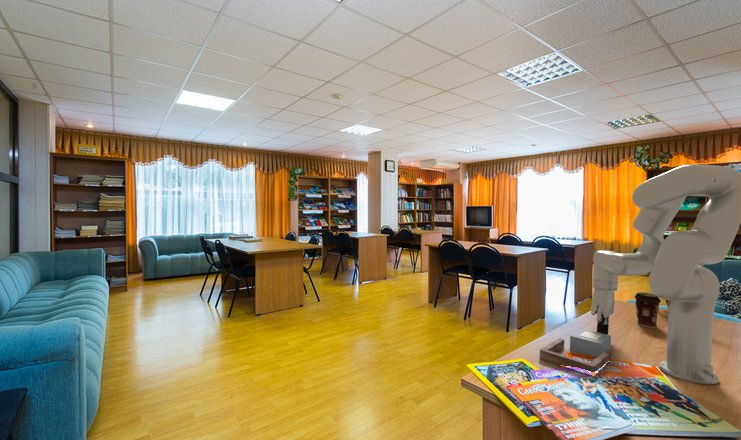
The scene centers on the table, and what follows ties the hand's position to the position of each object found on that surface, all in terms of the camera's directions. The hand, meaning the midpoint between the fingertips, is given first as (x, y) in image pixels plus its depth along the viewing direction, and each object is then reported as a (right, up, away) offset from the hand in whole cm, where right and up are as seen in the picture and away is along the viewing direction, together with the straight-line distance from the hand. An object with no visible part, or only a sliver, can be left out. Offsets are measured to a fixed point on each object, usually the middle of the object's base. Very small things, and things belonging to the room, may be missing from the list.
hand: (602, 333), depth 127 cm
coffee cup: (+29, -2, +16) cm, 34 cm away
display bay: (-20, -2, -18) cm, 27 cm away
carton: (-11, -2, -9) cm, 14 cm away
